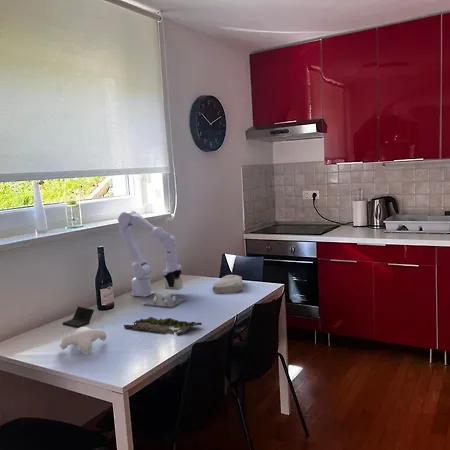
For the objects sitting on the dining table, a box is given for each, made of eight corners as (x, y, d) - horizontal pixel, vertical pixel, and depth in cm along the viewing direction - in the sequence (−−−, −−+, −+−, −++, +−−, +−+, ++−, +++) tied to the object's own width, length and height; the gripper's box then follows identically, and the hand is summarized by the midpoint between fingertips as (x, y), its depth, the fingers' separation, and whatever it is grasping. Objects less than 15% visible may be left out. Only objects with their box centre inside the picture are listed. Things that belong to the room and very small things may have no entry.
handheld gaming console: (58, 322, 202) (69, 301, 206) (68, 327, 208) (78, 306, 212) (78, 328, 197) (89, 306, 201) (88, 334, 203) (98, 312, 207)
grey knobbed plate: (143, 305, 224) (143, 299, 224) (158, 298, 234) (158, 292, 234) (171, 308, 216) (171, 302, 216) (185, 300, 227) (185, 295, 226)
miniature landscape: (203, 326, 189) (202, 319, 188) (188, 338, 178) (187, 331, 178) (138, 320, 203) (137, 314, 203) (121, 331, 193) (120, 325, 193)
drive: (165, 289, 239) (164, 278, 238) (169, 286, 243) (168, 276, 242) (178, 290, 235) (177, 279, 235) (182, 288, 239) (181, 277, 238)
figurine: (60, 354, 179) (62, 361, 163) (56, 330, 180) (58, 334, 163) (106, 344, 186) (112, 349, 169) (102, 320, 186) (108, 323, 170)
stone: (243, 292, 235) (242, 282, 234) (212, 294, 235) (212, 284, 235) (241, 282, 256) (241, 273, 256) (214, 284, 256) (213, 275, 256)
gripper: (169, 263, 229) (172, 290, 231) (185, 256, 242) (187, 282, 243) (158, 262, 232) (160, 289, 234) (174, 256, 245) (176, 281, 247)
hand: (173, 285), depth 239 cm, fingers closed on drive, 4 cm apart
